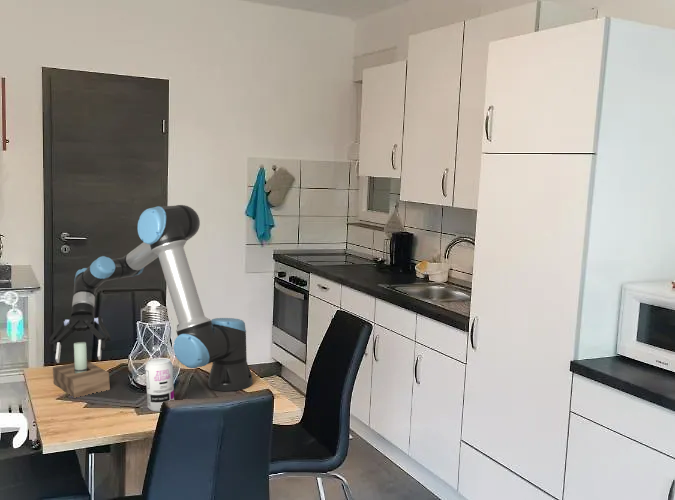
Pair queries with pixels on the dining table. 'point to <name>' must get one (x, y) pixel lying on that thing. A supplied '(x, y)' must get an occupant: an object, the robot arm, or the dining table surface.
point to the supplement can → (159, 382)
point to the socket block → (81, 379)
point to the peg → (80, 357)
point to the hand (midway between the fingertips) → (78, 359)
